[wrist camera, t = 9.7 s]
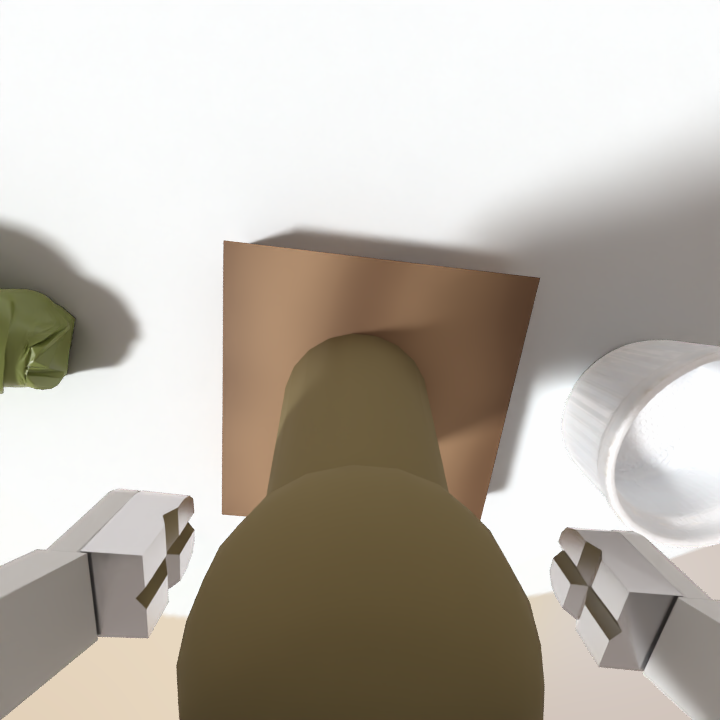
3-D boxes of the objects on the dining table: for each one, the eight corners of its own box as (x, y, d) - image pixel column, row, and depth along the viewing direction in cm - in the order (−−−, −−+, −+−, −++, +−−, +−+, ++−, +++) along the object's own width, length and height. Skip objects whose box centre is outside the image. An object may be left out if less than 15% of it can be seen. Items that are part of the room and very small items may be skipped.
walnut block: (510, 276, 15) (539, 277, 13) (460, 500, 19) (476, 534, 16) (244, 244, 15) (223, 240, 12) (239, 481, 18) (222, 514, 16)
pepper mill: (259, 364, 14) (-60, 699, 3) (400, 311, 13) (588, 491, 3) (317, 484, 15) (236, 980, 5) (445, 440, 15) (679, 881, 4)
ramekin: (661, 288, 16) (770, 296, 12) (753, 410, 18) (877, 455, 13) (512, 414, 17) (563, 460, 13) (610, 515, 19) (682, 584, 15)
